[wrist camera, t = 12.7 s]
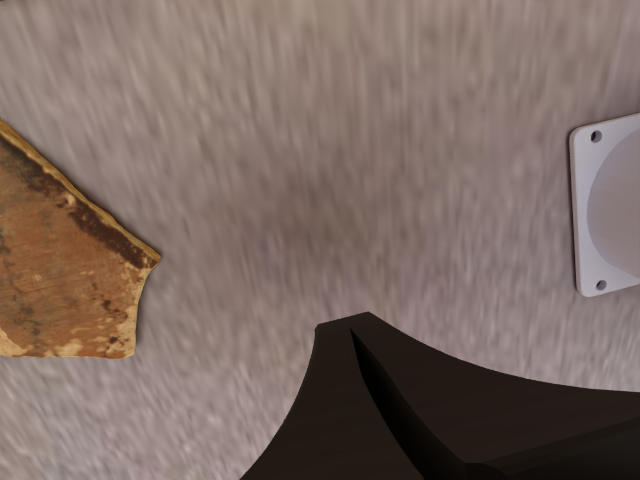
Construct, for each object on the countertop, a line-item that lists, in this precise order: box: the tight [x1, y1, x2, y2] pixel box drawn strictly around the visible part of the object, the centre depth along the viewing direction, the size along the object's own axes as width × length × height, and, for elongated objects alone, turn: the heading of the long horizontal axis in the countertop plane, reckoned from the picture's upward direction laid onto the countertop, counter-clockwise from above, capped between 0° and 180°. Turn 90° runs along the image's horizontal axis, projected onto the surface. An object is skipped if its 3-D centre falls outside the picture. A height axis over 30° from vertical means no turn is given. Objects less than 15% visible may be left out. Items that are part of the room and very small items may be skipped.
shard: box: [0, 119, 161, 359], centre depth 19 cm, size 11×8×2 cm
